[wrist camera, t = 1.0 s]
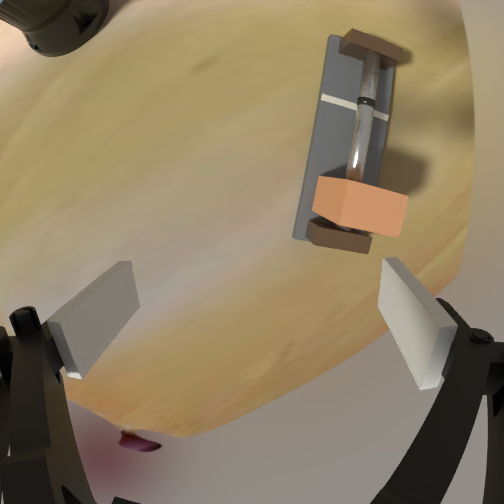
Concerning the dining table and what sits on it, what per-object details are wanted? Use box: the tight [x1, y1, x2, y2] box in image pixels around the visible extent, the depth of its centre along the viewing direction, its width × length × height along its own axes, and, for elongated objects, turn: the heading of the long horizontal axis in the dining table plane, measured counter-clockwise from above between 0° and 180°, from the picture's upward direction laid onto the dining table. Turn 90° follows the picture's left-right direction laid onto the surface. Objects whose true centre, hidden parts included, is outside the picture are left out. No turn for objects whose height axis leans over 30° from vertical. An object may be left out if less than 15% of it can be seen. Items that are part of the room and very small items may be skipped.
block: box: [312, 176, 408, 238], centre depth 38 cm, size 5×8×11 cm, turn 80°
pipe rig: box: [305, 29, 402, 254], centre depth 39 cm, size 31×8×5 cm, turn 170°
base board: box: [292, 34, 394, 242], centre depth 42 cm, size 32×11×2 cm, turn 170°
